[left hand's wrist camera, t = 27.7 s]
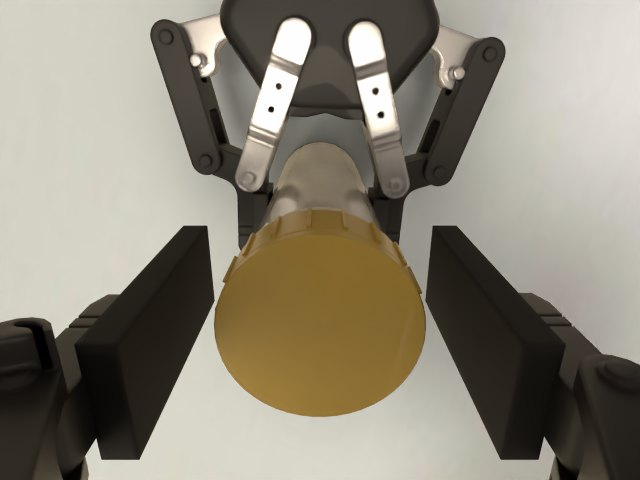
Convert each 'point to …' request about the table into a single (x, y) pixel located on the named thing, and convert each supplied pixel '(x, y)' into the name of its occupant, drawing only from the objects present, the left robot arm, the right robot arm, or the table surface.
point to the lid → (320, 315)
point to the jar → (320, 185)
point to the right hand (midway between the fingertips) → (318, 263)
